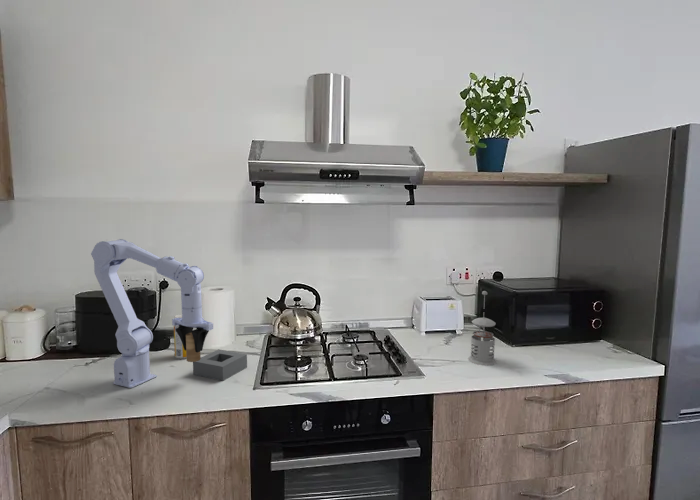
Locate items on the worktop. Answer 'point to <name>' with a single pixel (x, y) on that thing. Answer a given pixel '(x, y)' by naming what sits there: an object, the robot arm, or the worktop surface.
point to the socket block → (220, 364)
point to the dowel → (191, 349)
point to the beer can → (178, 343)
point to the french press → (482, 342)
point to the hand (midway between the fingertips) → (193, 350)
